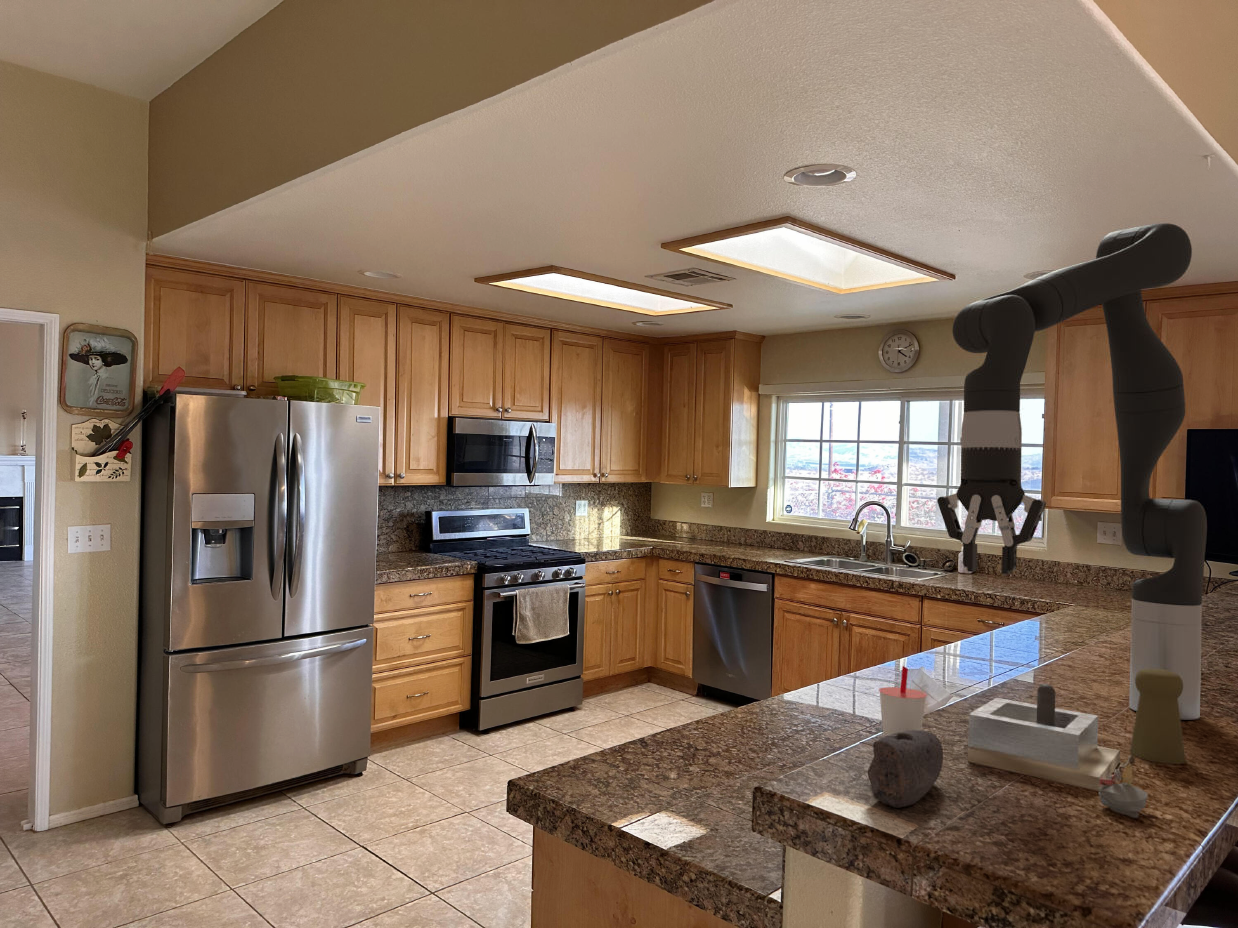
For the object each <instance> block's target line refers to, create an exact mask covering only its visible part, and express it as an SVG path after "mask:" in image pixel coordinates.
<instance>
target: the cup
mask: <svg viewBox="0 0 1238 928" xmlns="http://www.w3.org/2000/svg"><path fill="white" fill-rule="evenodd" d="M908 671H909V669H908V668H907V667H906V666H905V665H902V670H901V681H900V687H899V686H898V687H897V686H895V687H894V686H885V687H881V688H879V689H878V691H879V697H880V699H879V700H880V711H881V712H880V713H881V726H882V727H881V728H882V738H883V737H885V736H890V735H892V734H894V733H898V732H905V731H912V730H921V731H922V727H923V720H924V712H925V705H926V698H927V697H928V695H927V693H926V692H923V691H921V690H918V689H912V688H907V684H908V683H907V682H908V674H909V673H908Z"/></svg>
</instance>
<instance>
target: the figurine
mask: <svg viewBox="0 0 1238 928" xmlns="http://www.w3.org/2000/svg"><path fill="white" fill-rule="evenodd" d="M1134 765H1136V756H1135V755H1133V754H1130V755H1129V756H1128V759H1127V761H1126V762H1125V763H1120V764H1119V766H1118V767H1117V768H1116V769H1115V770H1114V771H1113V772H1111V774H1109V773H1108V774H1109V776H1110V777H1109V776H1107V773H1105V774H1106V776H1107V777H1108V778H1100V781H1099V784H1100V785H1101V788H1098V789H1100V790H1099V791H1098V796H1099V800H1100V803H1101V804H1102V805H1103V806H1107V807H1108V808H1109V809H1110V810H1111V811H1113V812H1114V813H1118V814H1122V815H1125V816H1128V817H1131V818H1134V819H1138V818H1139V817H1140V813H1139V812H1141V810H1142V809H1144V808H1145V807H1146V803H1147V800H1148V796H1149V794H1148V793H1147V792H1146V791H1145V790H1142V789H1141V788H1139V787H1137V786H1133V784H1132V783H1133V782H1134V776H1133V769H1132V766H1134ZM1120 767H1121V768H1124V770H1123V771H1121V770H1120ZM1105 771H1107V770H1105ZM1102 772H1103V771H1102ZM1107 772H1108V771H1107ZM1113 773H1114V774H1113ZM1116 781H1118V782H1120V781H1121V782H1120V783H1116Z"/></svg>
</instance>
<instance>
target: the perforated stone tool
mask: <svg viewBox="0 0 1238 928" xmlns="http://www.w3.org/2000/svg"><path fill="white" fill-rule="evenodd" d="M872 747H873V748H872V749H873V750H872V751H873V758H872V760H871V763H870V765H869V767H868V769H867V779H868V780H869V782H870V785H871V789H872V792H873V793H872V795H873V797H874V798H875V799H876V800H879V801H880V802H881V803H882V804H883V805H884V804H885V805H888V806H890V807H893V808H897V809H898V808H903V807H908V806H912V805H915V804H916V803H917V802H918V801H919V800H921V799H922V798H923V797H924V796H925V795H927V793H929V791H930V790H931V789H932V787H933V785H934V784H935V783H936V782H937V780H938V778H939V776H940V774H941V772H942V767H943V762H944V752H943V751H944V749H943V745H942V743H941V741H940V739H939V738H938V737H937V735H935V734H933V733H932V732H929V731H926V730H922V729H921V730H912V731H905V732H898V733H894V734H892V735H890V736H885V737H883V736H882V737H881V738H880V739H878V740H875V741H874V742H873V743H872Z"/></svg>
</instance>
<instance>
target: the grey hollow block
mask: <svg viewBox="0 0 1238 928" xmlns="http://www.w3.org/2000/svg"><path fill="white" fill-rule="evenodd" d="M1036 722H1037V704H1034V703H1029V702H1022V701H1016V700H1011V699H1006V698H1001V697H995V698H994V699H992V700H990V701H989V702H986V703H985V704H983V705H982V706H980V707H979V708H977V709H975V710H973V711H972V712H970V713H969V714H968V743H967V746H968V748H976V749H980V750H985V751H989V752H994V753H999V754H1003V755H1008V756H1013V757H1017V758H1022V759H1027V760H1031V761H1036V762H1040V763H1045V764H1050V765H1054V766H1059V767H1064V768H1068V769H1073V770H1079V769H1080V767H1081V766H1082V765H1083V764H1084V763H1085V762H1086V760H1087V759H1088V758H1089V757H1090V756H1091V755H1092V753H1093V752H1094V751H1095V750H1096V749H1097V746H1098V733H1099V732H1098V729H1099V724H1098V723H1099V715H1098V714H1097V715H1096V714H1092V713H1087V712H1086V713H1084V712H1079V711H1074V710H1067V709H1062V708H1056V707H1055V727H1053V726H1048V725H1042V724H1037V723H1036Z"/></svg>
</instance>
